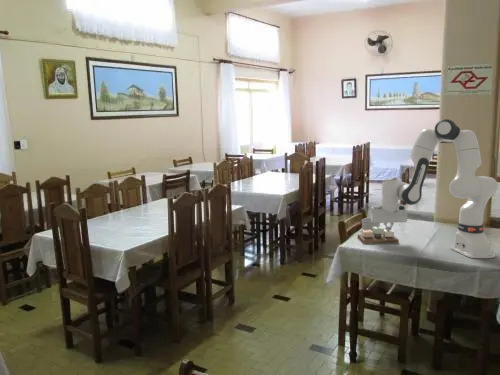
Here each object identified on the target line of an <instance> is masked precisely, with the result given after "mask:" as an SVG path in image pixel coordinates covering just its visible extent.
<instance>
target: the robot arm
mask: <svg viewBox="0 0 500 375" xmlns="http://www.w3.org/2000/svg"><path fill="white" fill-rule="evenodd" d="M439 143H440V144H451V143H452V144H454V148H455V152H456V153H455V154H456V159H457V160H456V161H457V171H456V174H455V176H454V178H453V179H452V180H451V182H450V183H449V185H448V189H449V193H450V195H452V197H454V198H458V199H467V200H466V202H465V203H464V204H463V205H461V206H460V209H459V216H458V222H457V231H456V233H455V234H454V238H453V239H454V240H453V244H452V246H450V250H452V251H454V252H456V253H459V254H461V255H463V256H465V257H467V258H471V259H493V258H496V254H495V253H494V252H492V250H491V245H492V242H491V241H490V240H488V238H487V237H486V235H485V233H484V232H485V228H484V223H483V222H484V221H483V220H484V219H483V218H484V213H485V208H486V205H487V204H488V201H489V200H490V198H491V197H492V196H494V195H495V194H496V193H497V190H498V182H497V180H496V179H495V178H494V177H491V176H485V175H481V176H478V175H477V176H476V171H477V169H479V167H481V165H482V158H481V157H482V156H481V151H480V144H479V141H478V138H477V135H476V133H475V131H473V130H471V129H463V130H462V129H461V128H460V127H459V126H458V124H457V123H456V122H454V121H453V120H452V119H448V118H447V119H446V118H445V119H444V118H443V119H440V120H439V121H438V122H436V124H435V125H434V129H433V128H423V129H422V130H421V132H419V134H418V136H417V138H416V139H415V141H414V143H413V147H412V148H411V154H410V158H411V161H412V163H413V165H414V171H413V173H412V177H411V180H410V182H409V183H406V182H404V181H402V180H401V179H398V178H397V177H387V178H385V179H384V180H383V182H382V186H381V196H382V197H381V202H380V203H381V204H380V205H381V206H373V207H371V209H370V213H371V214H370V218H371V221H372V222H373V223H380V224H383V225H384V227H385V230H393V226H394V224H395V223H407V221H408V212H407V206H406V205H409V206H413V205H416V204H418V203H419V202H420V201H421V199H422V195H423V194H422V189H423V185H424V181H425V180H426V177H427V173H428V169H429V166H430V161H431V160H432V157H433V154H434V152H435V149H436V147H437V146H438V144H439ZM399 200H401V201H403V202H404V203H405V204H406V205H404V204H402V203H399ZM388 224H390V225H389V226H388Z"/></svg>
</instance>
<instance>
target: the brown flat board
mask: <svg viewBox="0 0 500 375" xmlns="http://www.w3.org/2000/svg"><path fill="white" fill-rule="evenodd" d="M357 239H358V240H359V241H360V242H361V243H362V244H364V243H365V244H366V243H367V244H368V243H372V244H399V241H400V240H399V239H398V237H396V236H395V235H394V237H392V238H386V237H384V235H383V234H382V237H375V236H374V233H373V237H371V238H364V237H363V235H362V233H358V234H357ZM365 244H364V245H365Z"/></svg>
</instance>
